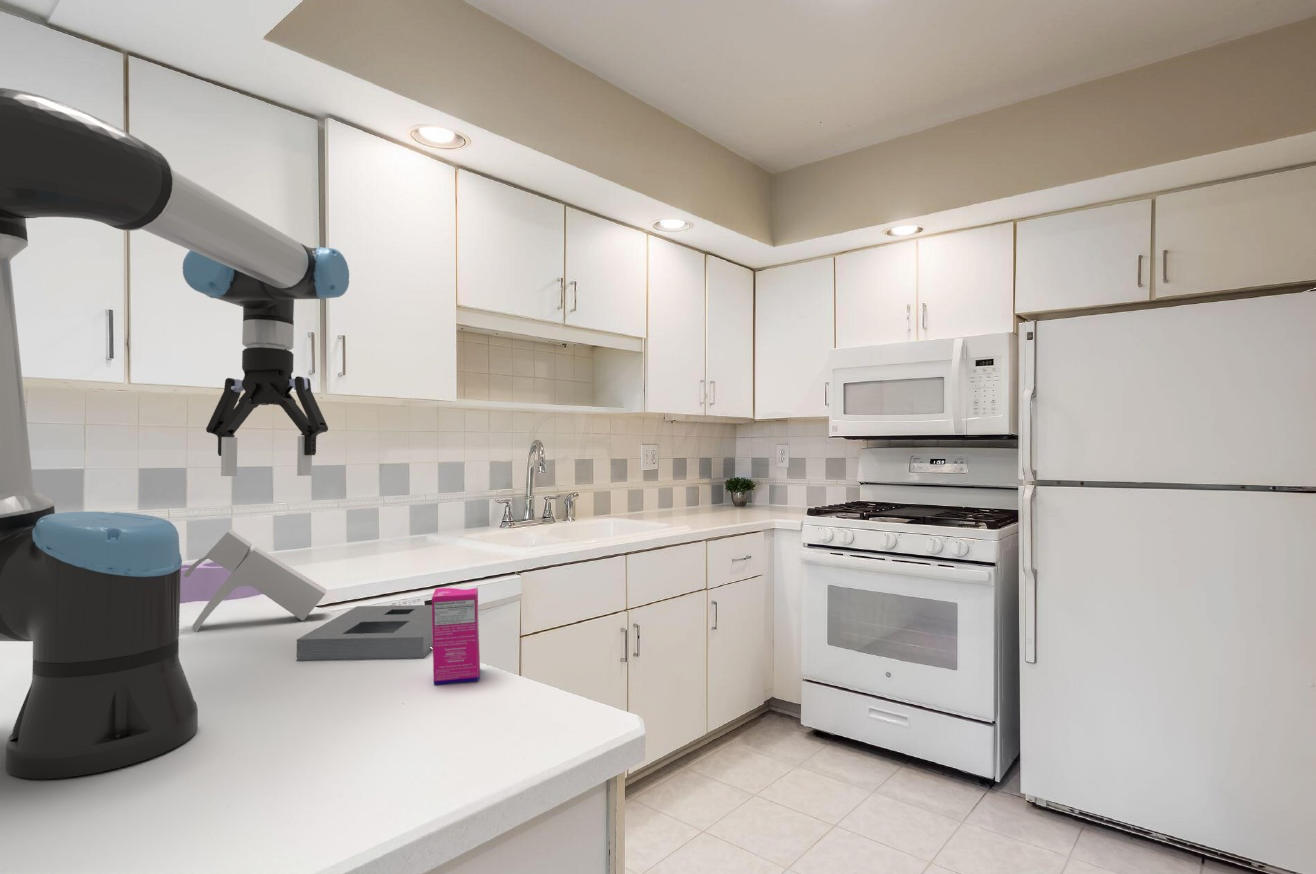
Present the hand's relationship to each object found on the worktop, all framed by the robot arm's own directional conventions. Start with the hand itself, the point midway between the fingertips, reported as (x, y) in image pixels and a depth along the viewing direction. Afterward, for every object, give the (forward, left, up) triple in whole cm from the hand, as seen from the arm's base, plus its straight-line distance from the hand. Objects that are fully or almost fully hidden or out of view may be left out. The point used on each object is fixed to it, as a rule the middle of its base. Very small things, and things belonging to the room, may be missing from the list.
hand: (266, 476), depth 115 cm
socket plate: (-5, -22, -26) cm, 34 cm away
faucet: (+8, +5, -26) cm, 28 cm away
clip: (+33, +27, -27) cm, 50 cm away
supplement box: (-25, -38, -26) cm, 52 cm away
